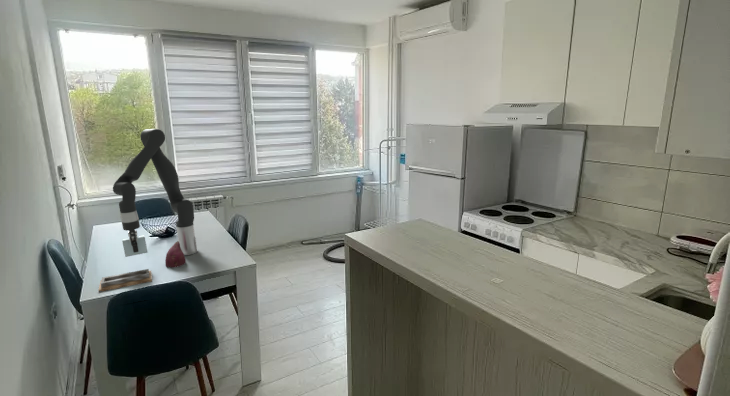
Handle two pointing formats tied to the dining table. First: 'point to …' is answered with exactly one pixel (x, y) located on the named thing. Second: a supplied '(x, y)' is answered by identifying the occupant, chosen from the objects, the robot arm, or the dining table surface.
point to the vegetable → (175, 256)
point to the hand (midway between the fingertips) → (136, 250)
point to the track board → (125, 280)
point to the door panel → (129, 249)
